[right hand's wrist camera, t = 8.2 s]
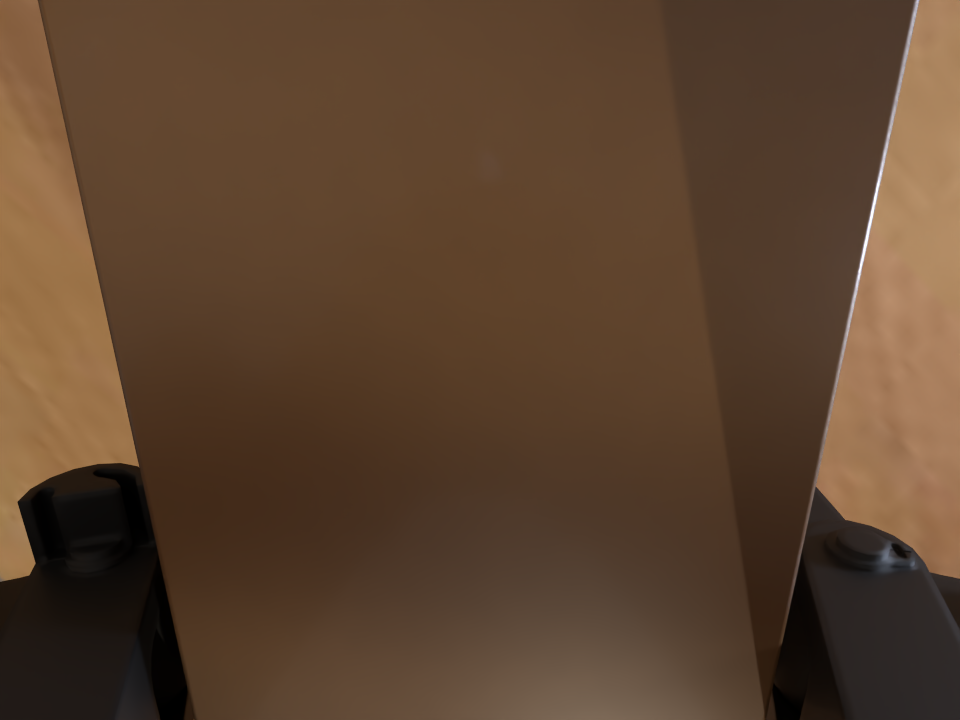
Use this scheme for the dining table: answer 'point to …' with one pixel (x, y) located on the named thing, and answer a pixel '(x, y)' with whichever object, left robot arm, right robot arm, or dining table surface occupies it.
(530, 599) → the bar
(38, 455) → the dining table surface
